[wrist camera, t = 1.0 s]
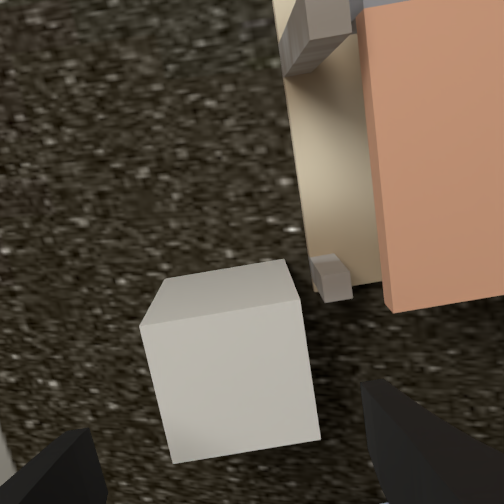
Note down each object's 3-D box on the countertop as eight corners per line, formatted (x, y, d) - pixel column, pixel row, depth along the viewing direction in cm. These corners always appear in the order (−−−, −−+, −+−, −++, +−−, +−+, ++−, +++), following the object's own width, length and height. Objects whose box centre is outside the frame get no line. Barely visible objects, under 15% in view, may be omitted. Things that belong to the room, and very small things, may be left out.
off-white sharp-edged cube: (300, 366, 20) (320, 439, 15) (189, 385, 20) (172, 463, 15) (283, 258, 19) (300, 299, 14) (165, 278, 19) (139, 326, 14)
